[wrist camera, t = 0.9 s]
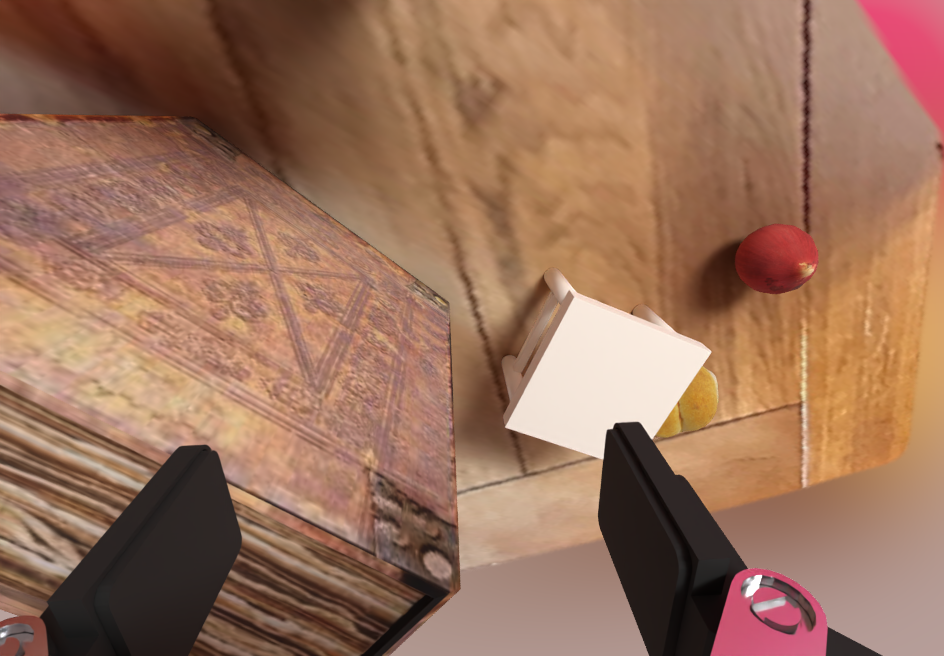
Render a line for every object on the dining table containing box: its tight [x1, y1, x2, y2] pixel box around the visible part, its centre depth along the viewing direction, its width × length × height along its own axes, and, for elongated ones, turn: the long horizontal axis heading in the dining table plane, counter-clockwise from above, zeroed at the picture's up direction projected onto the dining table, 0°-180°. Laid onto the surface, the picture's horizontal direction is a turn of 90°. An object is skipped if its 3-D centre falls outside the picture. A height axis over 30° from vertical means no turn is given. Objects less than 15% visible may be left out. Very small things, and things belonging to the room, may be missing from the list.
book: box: [0, 114, 460, 656], centre depth 28 cm, size 25×9×30 cm, turn 51°
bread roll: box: [655, 366, 719, 438], centre depth 48 cm, size 8×9×4 cm
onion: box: [735, 224, 818, 294], centre depth 40 cm, size 6×6×8 cm
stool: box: [501, 268, 711, 459], centre depth 42 cm, size 12×12×10 cm
